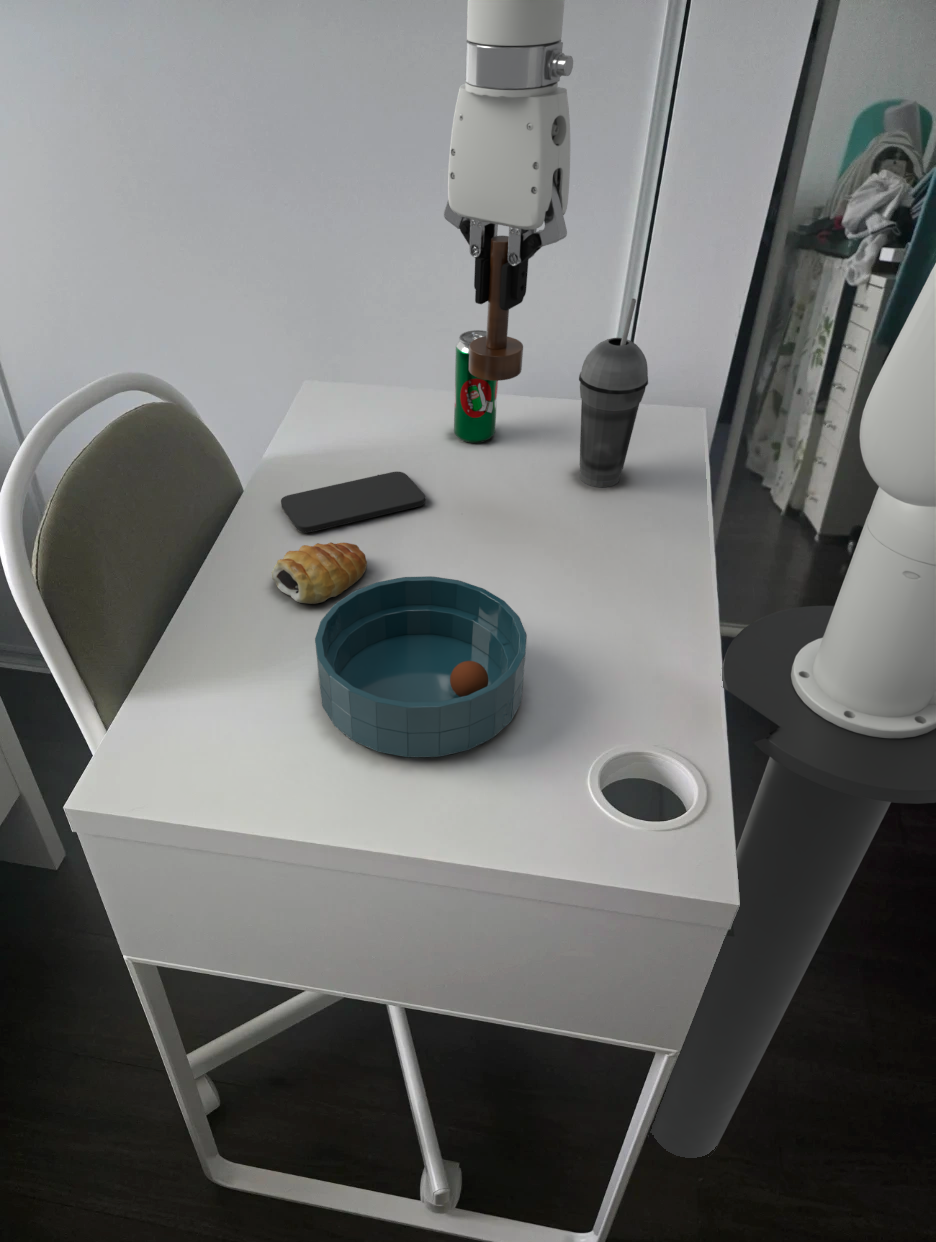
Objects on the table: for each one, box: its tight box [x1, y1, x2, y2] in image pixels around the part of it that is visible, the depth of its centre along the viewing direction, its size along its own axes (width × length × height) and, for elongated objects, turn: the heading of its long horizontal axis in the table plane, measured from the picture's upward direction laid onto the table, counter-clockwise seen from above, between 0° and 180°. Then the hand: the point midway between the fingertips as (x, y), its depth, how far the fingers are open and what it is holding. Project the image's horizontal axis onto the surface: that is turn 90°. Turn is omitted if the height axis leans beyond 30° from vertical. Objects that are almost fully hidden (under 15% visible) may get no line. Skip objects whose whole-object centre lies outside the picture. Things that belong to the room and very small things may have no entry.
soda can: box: [453, 329, 499, 444], centre depth 112 cm, size 5×5×12 cm
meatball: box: [450, 661, 488, 697], centre depth 79 cm, size 3×3×3 cm
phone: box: [280, 471, 426, 533], centre depth 104 cm, size 7×1×15 cm
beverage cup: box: [578, 297, 649, 488], centre depth 101 cm, size 7×7×20 cm
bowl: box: [314, 575, 528, 758], centre depth 79 cm, size 17×17×6 cm
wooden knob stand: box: [469, 235, 524, 382], centre depth 89 cm, size 5×5×12 cm
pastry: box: [271, 541, 368, 605], centre depth 92 cm, size 9×7×4 cm
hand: (499, 301), depth 88 cm, fingers closed on wooden knob stand
